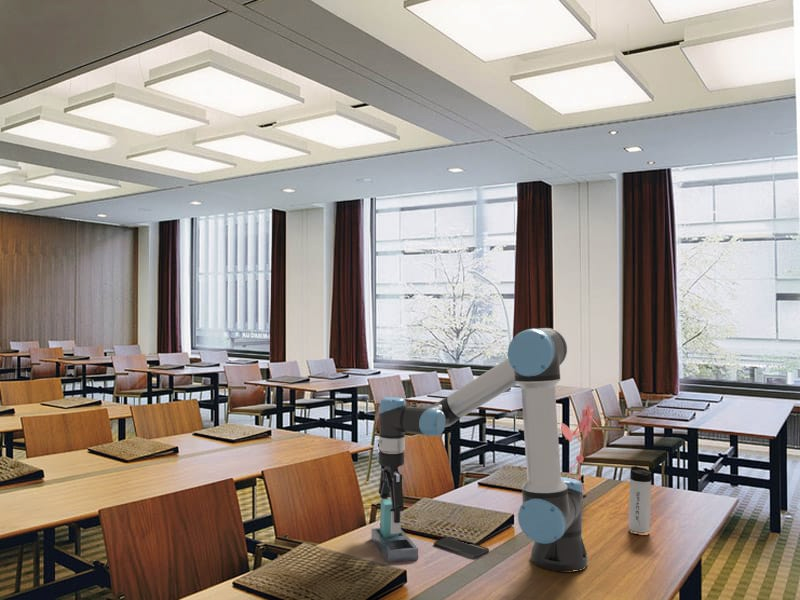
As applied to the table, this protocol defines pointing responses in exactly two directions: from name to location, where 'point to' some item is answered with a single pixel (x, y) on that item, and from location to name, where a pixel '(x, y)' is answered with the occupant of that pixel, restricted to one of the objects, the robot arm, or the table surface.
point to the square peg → (386, 519)
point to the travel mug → (639, 500)
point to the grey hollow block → (395, 547)
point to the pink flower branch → (584, 426)
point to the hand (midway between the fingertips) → (390, 526)
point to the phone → (461, 547)
